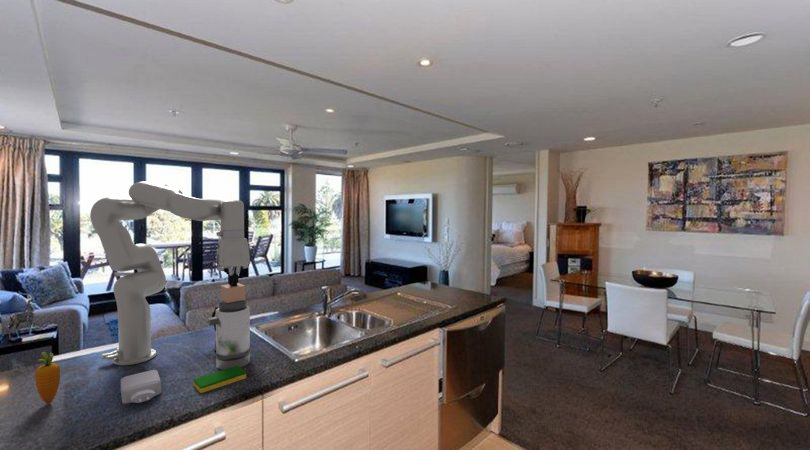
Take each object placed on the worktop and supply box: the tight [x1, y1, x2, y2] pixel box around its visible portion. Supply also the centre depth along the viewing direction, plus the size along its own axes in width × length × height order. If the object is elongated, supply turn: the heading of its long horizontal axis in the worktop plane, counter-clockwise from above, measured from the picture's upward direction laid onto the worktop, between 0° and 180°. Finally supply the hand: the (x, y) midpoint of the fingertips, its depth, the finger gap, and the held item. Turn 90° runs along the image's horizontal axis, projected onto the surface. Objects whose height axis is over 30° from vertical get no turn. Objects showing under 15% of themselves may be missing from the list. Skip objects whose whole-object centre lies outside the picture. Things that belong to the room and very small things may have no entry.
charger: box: [120, 369, 162, 405], centre depth 104 cm, size 5×9×15 cm
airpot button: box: [220, 282, 246, 303], centre depth 127 cm, size 6×6×5 cm
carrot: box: [34, 351, 61, 405], centre depth 100 cm, size 5×5×15 cm
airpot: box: [207, 297, 251, 371], centre depth 126 cm, size 14×11×27 cm
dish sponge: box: [193, 366, 247, 394], centre depth 114 cm, size 7×14×2 cm, turn 137°
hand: (233, 285), depth 126 cm, fingers closed
